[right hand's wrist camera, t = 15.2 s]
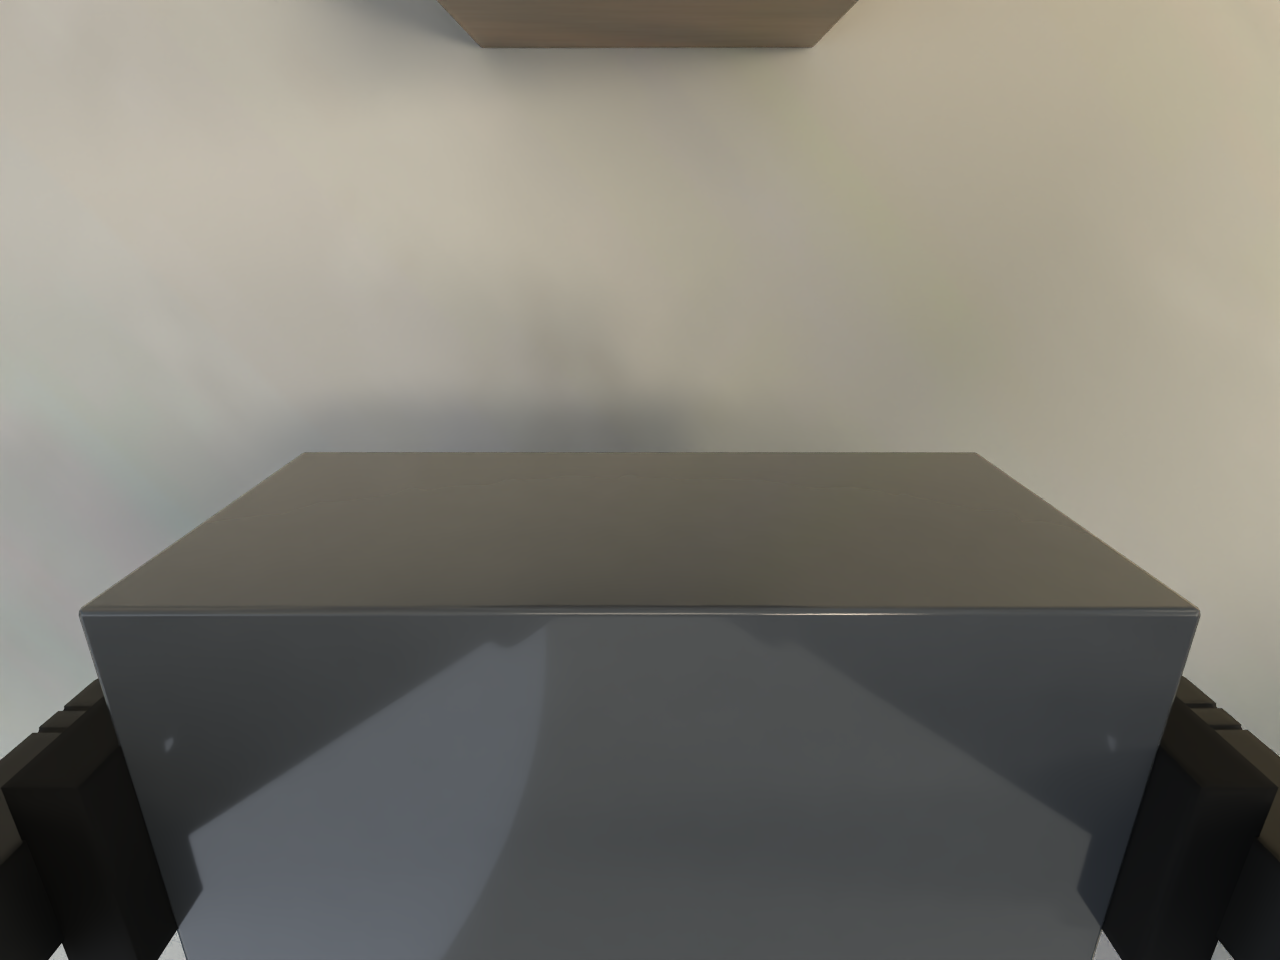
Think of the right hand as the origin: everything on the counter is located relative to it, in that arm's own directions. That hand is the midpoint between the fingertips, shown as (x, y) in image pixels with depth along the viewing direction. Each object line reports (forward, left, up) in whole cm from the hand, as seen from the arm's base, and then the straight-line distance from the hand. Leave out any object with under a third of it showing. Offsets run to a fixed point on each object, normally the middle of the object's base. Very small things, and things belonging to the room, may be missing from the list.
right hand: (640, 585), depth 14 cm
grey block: (0, 0, +1) cm, 1 cm away
